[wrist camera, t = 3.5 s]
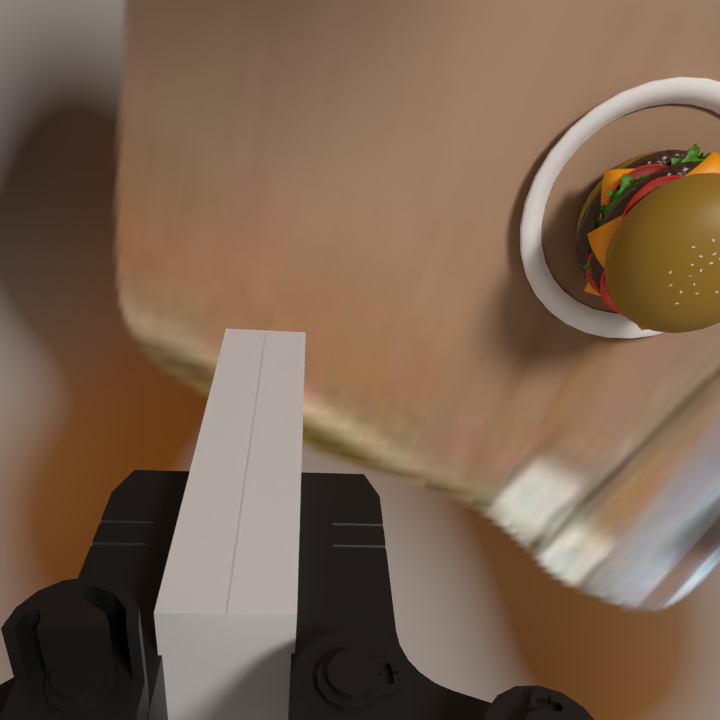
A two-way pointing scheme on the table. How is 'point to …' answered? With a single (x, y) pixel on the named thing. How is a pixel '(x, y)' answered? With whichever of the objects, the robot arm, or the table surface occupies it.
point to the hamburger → (637, 227)
